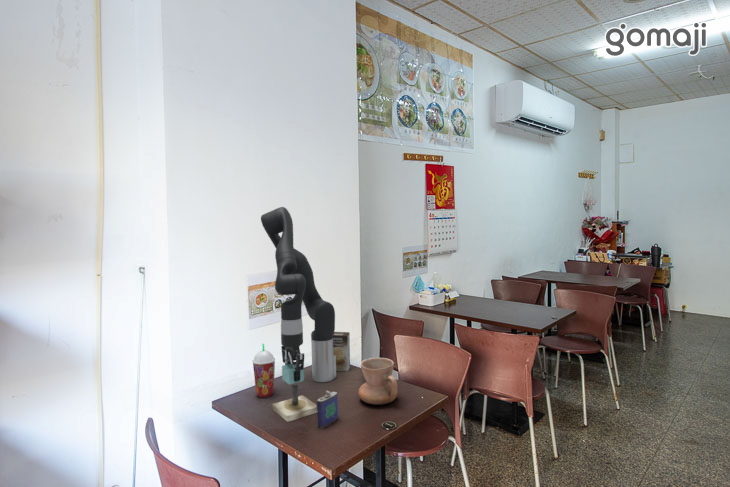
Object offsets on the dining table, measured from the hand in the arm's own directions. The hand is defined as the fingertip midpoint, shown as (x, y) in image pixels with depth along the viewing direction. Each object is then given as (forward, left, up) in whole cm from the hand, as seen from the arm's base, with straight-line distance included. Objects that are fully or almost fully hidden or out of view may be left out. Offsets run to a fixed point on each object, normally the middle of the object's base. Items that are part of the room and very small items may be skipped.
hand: (293, 378), depth 149 cm
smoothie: (+3, -20, -12) cm, 23 cm away
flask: (-5, +15, -12) cm, 20 cm away
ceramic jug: (-28, +12, -12) cm, 33 cm away
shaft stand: (0, 0, -12) cm, 12 cm away
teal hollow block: (0, 0, -1) cm, 1 cm away
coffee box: (-35, -25, -12) cm, 45 cm away
